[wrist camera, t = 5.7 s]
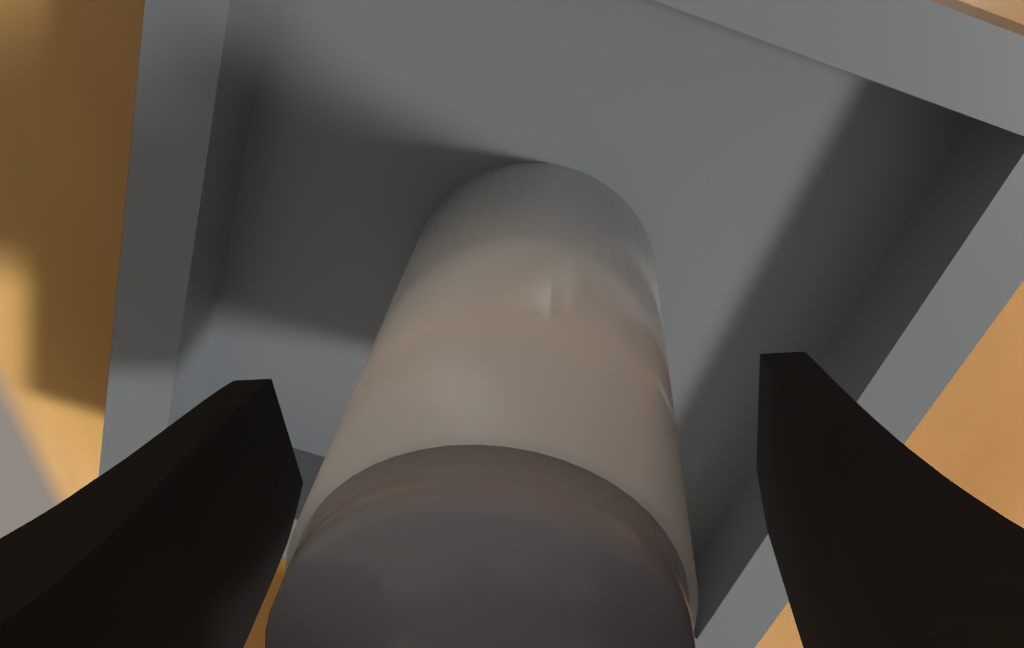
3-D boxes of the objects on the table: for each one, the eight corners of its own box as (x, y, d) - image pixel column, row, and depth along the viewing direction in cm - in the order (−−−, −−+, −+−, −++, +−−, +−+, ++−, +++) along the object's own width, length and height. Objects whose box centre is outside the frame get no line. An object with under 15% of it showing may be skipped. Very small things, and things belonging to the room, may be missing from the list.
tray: (1063, 40, 15) (1162, 89, 12) (709, 583, 22) (724, 687, 19) (254, -267, 13) (172, -287, 11) (159, 416, 20) (96, 503, 18)
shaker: (642, 145, 15) (691, 485, 7) (665, 366, 17) (721, 807, 10) (389, 180, 16) (191, 523, 8) (442, 387, 18) (325, 814, 10)
